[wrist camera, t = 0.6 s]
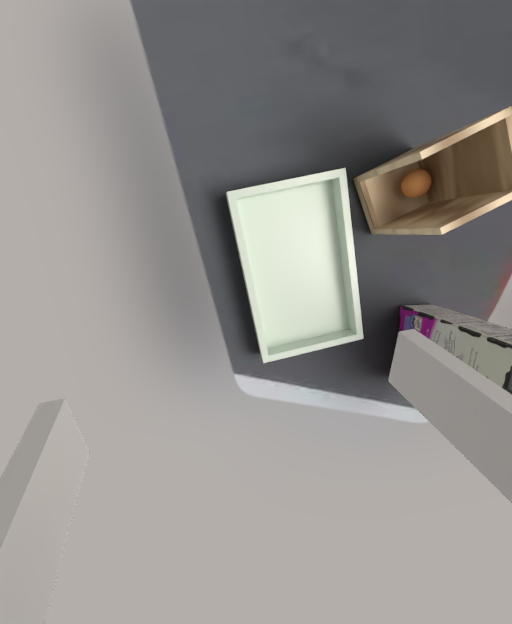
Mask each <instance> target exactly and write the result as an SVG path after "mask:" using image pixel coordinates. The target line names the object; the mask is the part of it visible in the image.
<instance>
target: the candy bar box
mask: <svg viewBox="0 0 512 624" xmlns="http://www.w3.org/2000/svg"><path fill="white" fill-rule="evenodd" d="M410 329H415V330H416V331H418V332H419V333H421V334H422V335H424V336H425V337H427V338H428V339H430V340H431V341H433V342H434V343H436V344H437V345H439V346H440V347H442V348H443V349H445V350H446V351H448V352H449V353H451V354H452V355H454V356H455V357H457V358H458V359H460V360H461V361H463V362H464V363H466V364H467V365H469V366H470V367H471V368H473V369H474V370H476V371H477V372H479V373H480V374H482V375H483V376H485V377H486V378H488V379H489V380H491V381H492V382H494V383H495V384H497V385H498V386H500V387H505V388H507V389H510V390H512V329H509V328H507V327H503V326H500V325H497V324H494V323H490V322H487V321H484V320H481V319H478V318H475V317H472V316H468V315H465V314H462V313H458V312H455V311H452V310H449V309H446V308H442V307H439V306H436V305H433V304H423V305H401V306H400V314H399V323H398V333H399V332H400V331H405V330H410ZM397 338H398V334H397Z"/></svg>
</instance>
